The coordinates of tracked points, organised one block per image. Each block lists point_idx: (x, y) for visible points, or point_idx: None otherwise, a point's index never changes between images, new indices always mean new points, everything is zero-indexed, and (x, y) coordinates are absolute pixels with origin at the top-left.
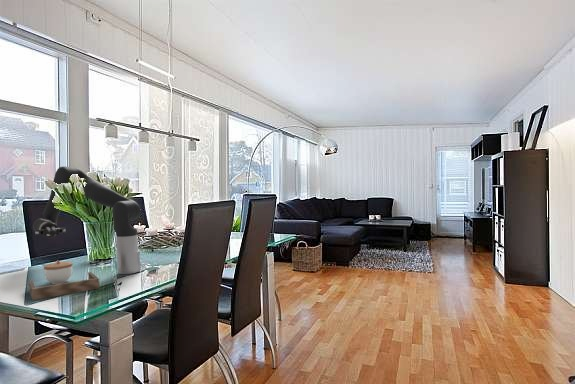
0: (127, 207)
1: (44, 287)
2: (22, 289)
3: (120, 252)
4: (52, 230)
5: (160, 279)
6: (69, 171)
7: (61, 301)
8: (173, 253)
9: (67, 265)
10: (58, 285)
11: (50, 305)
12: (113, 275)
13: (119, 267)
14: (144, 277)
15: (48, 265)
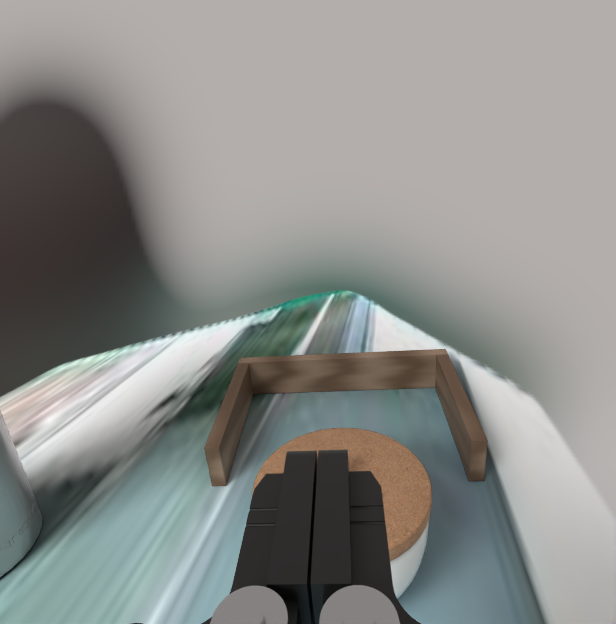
0: None
1: (408, 351)
2: (536, 536)
3: (1, 414)
4: (312, 495)
5: (63, 383)
6: None
7: (365, 345)
8: None
9: (299, 438)
10: (366, 354)
11: (392, 335)
12: (74, 530)
13: (30, 497)
14: (56, 424)
15: (400, 473)
